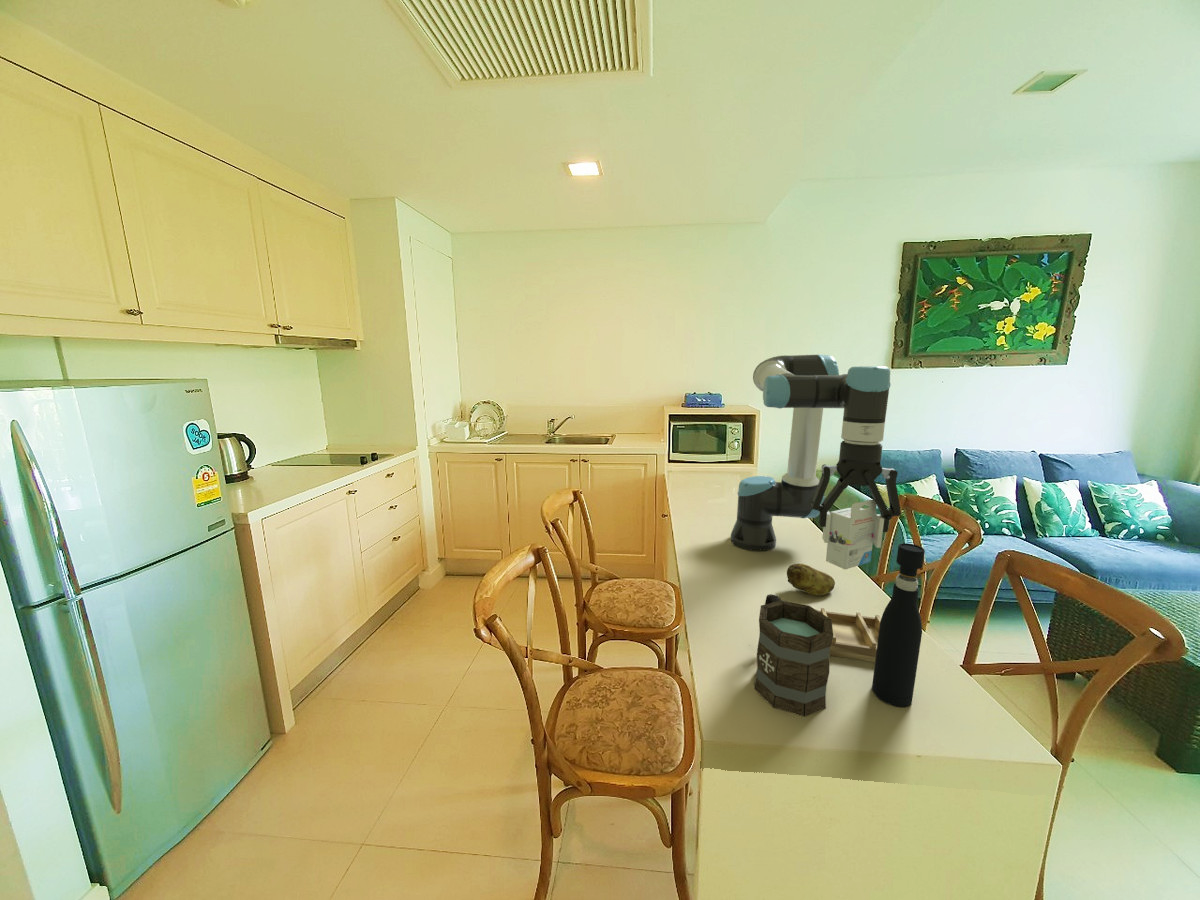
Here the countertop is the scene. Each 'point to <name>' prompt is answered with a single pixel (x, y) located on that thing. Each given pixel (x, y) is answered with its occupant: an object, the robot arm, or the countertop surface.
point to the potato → (809, 579)
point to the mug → (793, 656)
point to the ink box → (851, 535)
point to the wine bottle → (900, 633)
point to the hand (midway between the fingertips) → (850, 542)
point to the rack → (854, 635)
